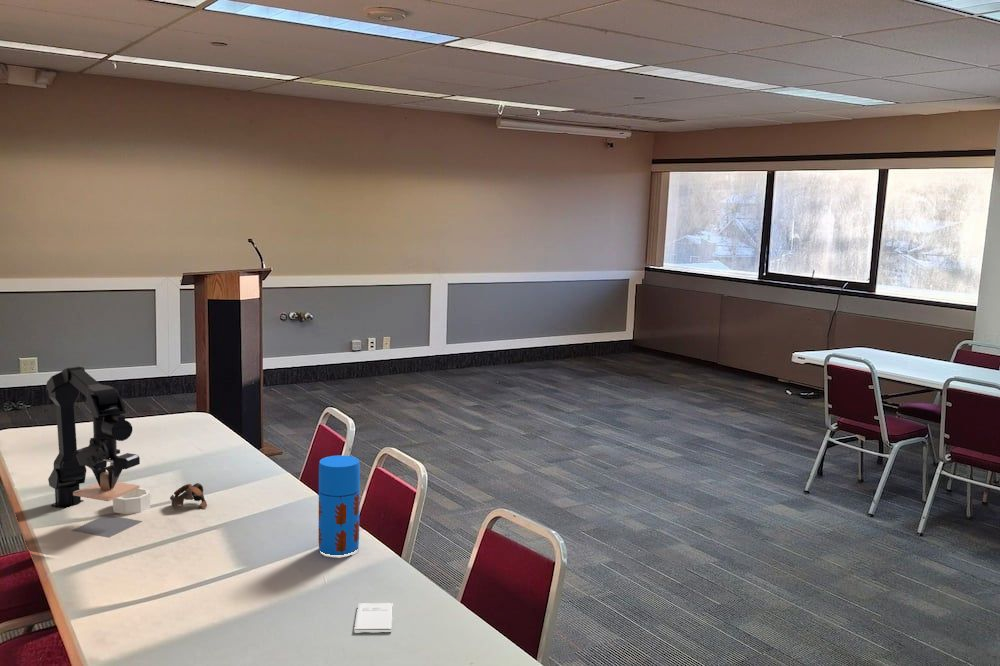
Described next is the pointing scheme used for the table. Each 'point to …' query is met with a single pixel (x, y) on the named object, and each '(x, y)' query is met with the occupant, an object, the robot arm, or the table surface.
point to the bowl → (132, 502)
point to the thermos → (339, 504)
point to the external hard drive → (374, 616)
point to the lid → (106, 489)
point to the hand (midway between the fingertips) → (106, 487)
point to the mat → (107, 526)
